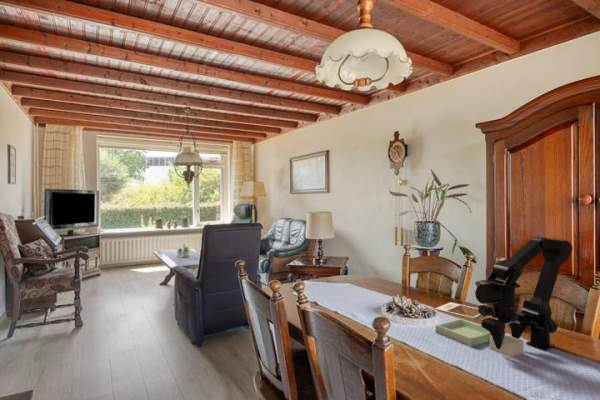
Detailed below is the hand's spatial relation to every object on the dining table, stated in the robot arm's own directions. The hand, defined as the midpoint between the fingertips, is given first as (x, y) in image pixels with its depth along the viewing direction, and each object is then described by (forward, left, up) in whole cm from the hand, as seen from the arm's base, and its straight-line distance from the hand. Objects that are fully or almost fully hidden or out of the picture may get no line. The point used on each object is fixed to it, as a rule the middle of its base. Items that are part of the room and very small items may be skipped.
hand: (506, 345), depth 119 cm
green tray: (0, -16, -2) cm, 16 cm away
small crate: (0, 0, -2) cm, 2 cm away
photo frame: (-25, -37, -2) cm, 45 cm away
